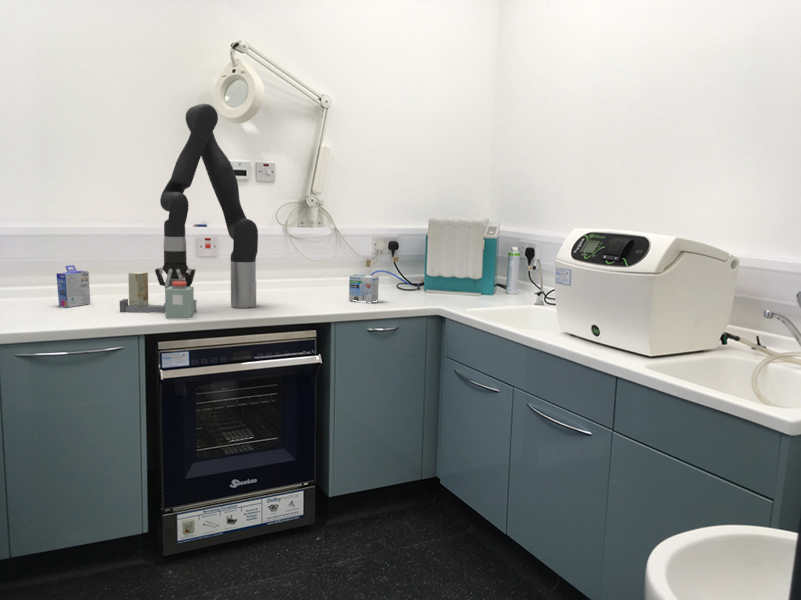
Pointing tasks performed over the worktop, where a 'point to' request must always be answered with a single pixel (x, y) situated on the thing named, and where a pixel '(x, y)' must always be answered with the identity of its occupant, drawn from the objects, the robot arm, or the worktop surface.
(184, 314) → the button housing
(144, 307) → the rail
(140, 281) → the skincare box
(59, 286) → the ink cartridge box
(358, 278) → the light bulb box
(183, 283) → the red button
